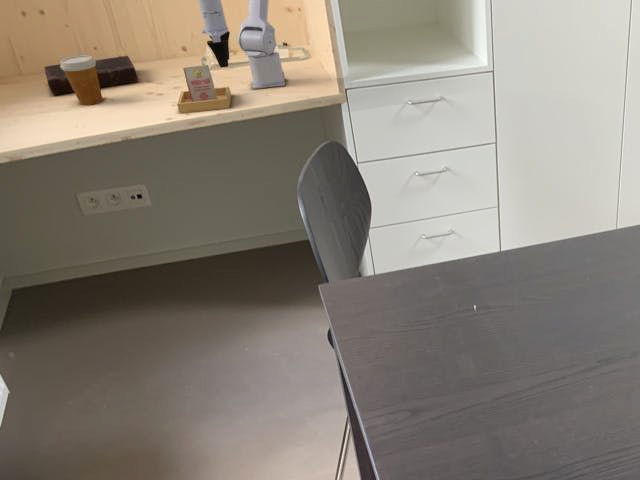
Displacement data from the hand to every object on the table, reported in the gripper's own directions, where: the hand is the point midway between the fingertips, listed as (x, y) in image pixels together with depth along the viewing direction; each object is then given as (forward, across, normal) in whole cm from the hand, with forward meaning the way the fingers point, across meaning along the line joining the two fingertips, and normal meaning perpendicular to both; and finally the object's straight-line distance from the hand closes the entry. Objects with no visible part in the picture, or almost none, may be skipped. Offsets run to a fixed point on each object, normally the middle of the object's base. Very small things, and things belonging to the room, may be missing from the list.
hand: (224, 63), depth 223 cm
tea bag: (+10, +1, -8) cm, 13 cm away
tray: (+10, +1, -8) cm, 13 cm away
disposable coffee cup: (+10, -14, -42) cm, 45 cm away
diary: (+10, -36, -45) cm, 59 cm away
